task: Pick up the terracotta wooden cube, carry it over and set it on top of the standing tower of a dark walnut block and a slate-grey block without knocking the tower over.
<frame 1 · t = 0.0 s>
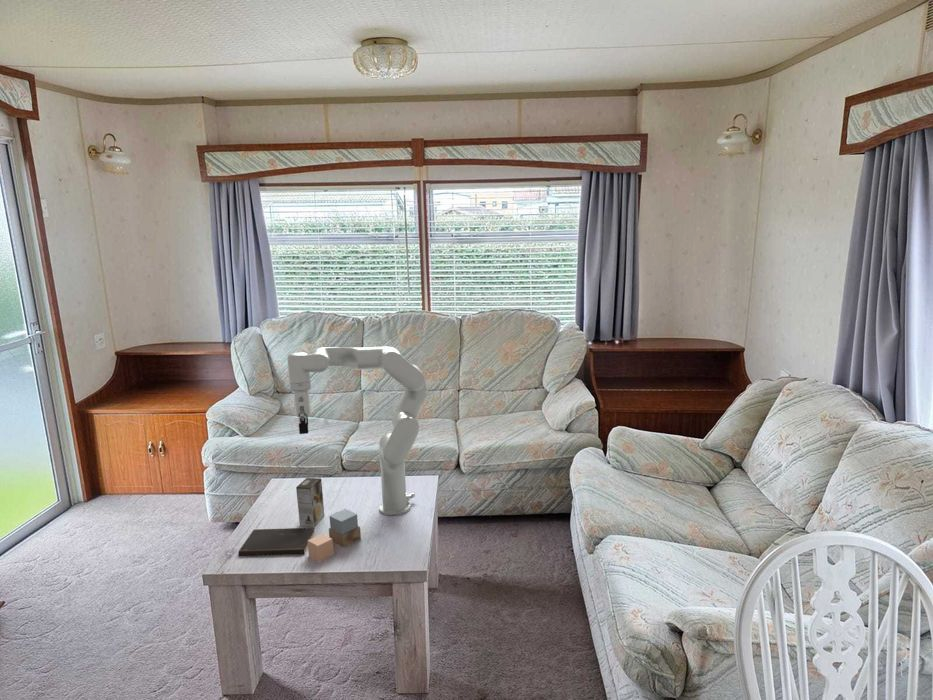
hand: (304, 429, 225), 37 cm above the table, tool pointing down, fingers open, 9 cm apart
hardcover book: (278, 545, 215), on the table
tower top: (344, 527, 216), point 5 cm above the table, touching tower bottom
terracotta cube: (321, 555, 207), on the table
coffee box: (312, 521, 232), on the table
tower bottom: (345, 540, 217), on the table, touching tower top
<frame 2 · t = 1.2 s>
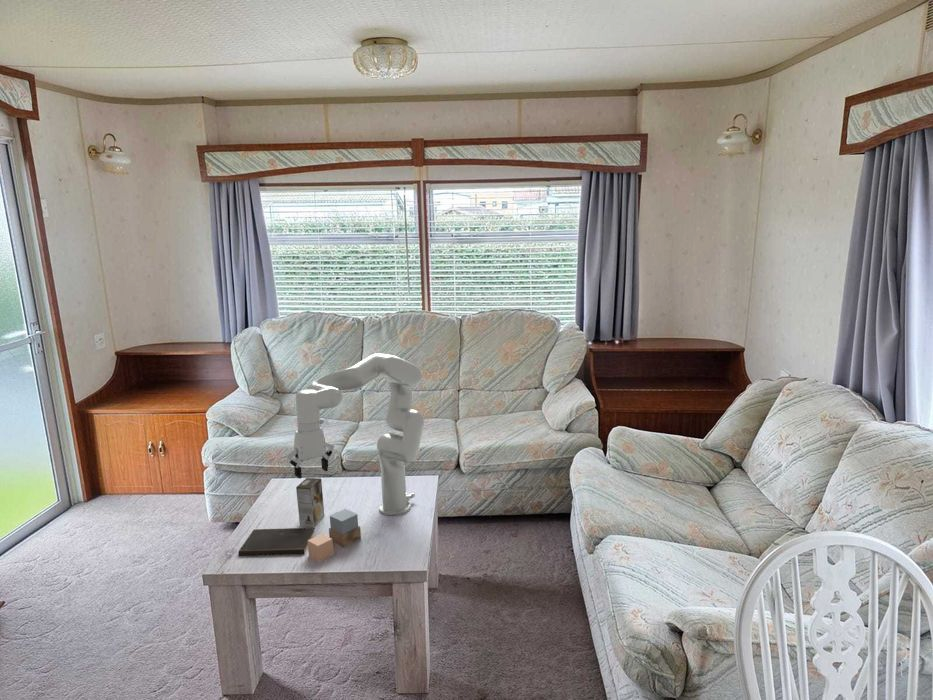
hand: (312, 473, 205), 29 cm above the table, tool pointing down, fingers open, 9 cm apart
nothing on the table moved.
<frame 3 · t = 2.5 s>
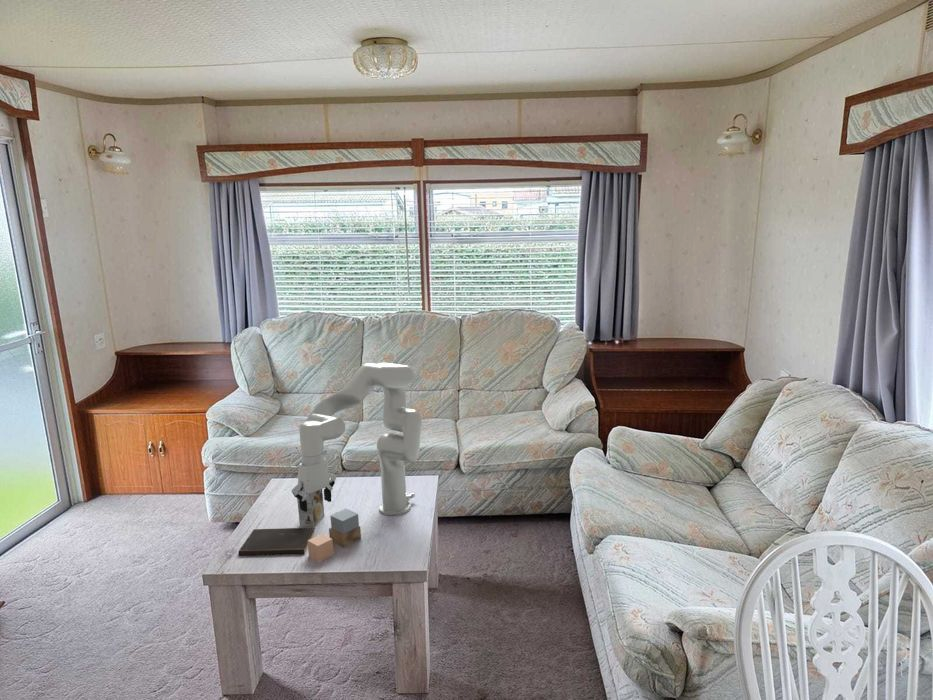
hand: (316, 505, 203), 19 cm above the table, tool pointing down, fingers open, 9 cm apart
nothing on the table moved.
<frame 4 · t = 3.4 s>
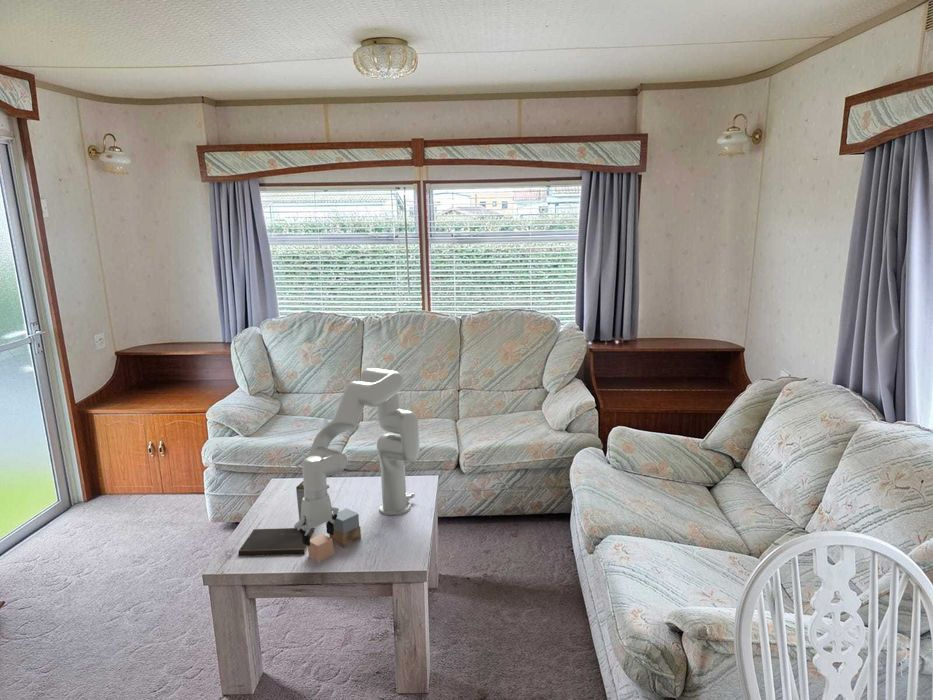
hand: (318, 539, 205), 6 cm above the table, tool pointing down, fingers open, 9 cm apart
nothing on the table moved.
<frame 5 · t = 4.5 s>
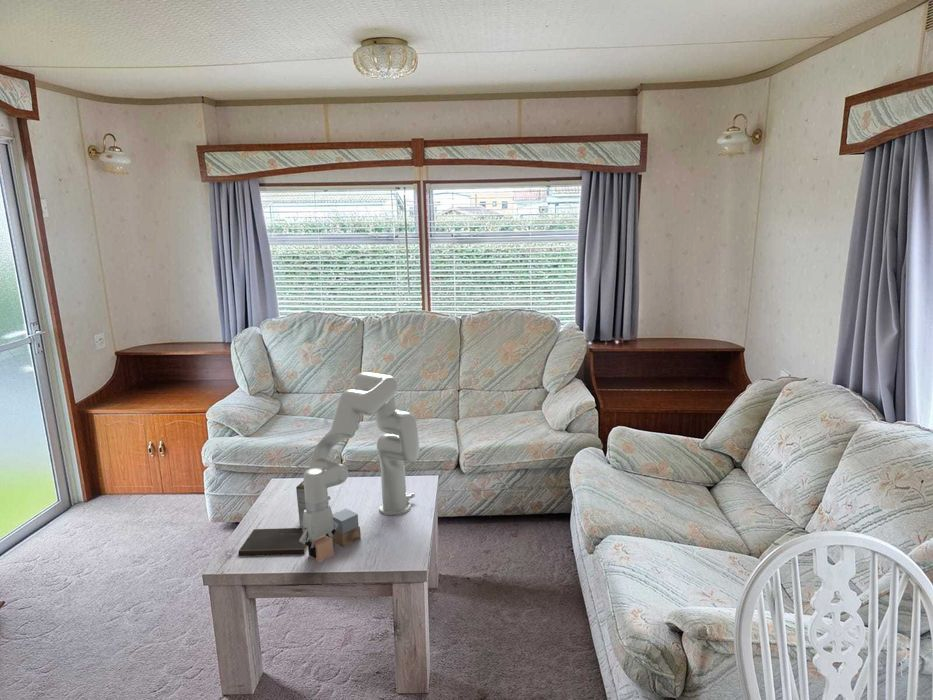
hand: (320, 552, 206), 1 cm above the table, tool pointing down, fingers closed on terracotta cube, 6 cm apart
terracotta cube: (321, 555, 207), on the table, touching gripper
everything else where it was.
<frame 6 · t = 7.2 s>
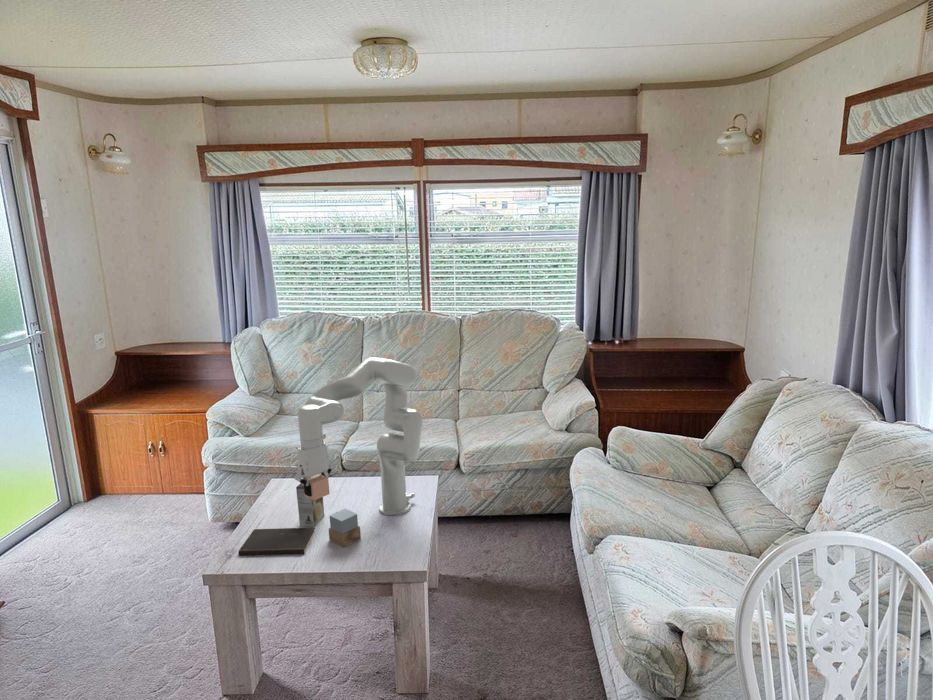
hand: (316, 491, 202), 24 cm above the table, tool pointing down, fingers closed on terracotta cube, 6 cm apart
terracotta cube: (317, 494, 203), point 22 cm above the table, touching gripper
everything else where it was.
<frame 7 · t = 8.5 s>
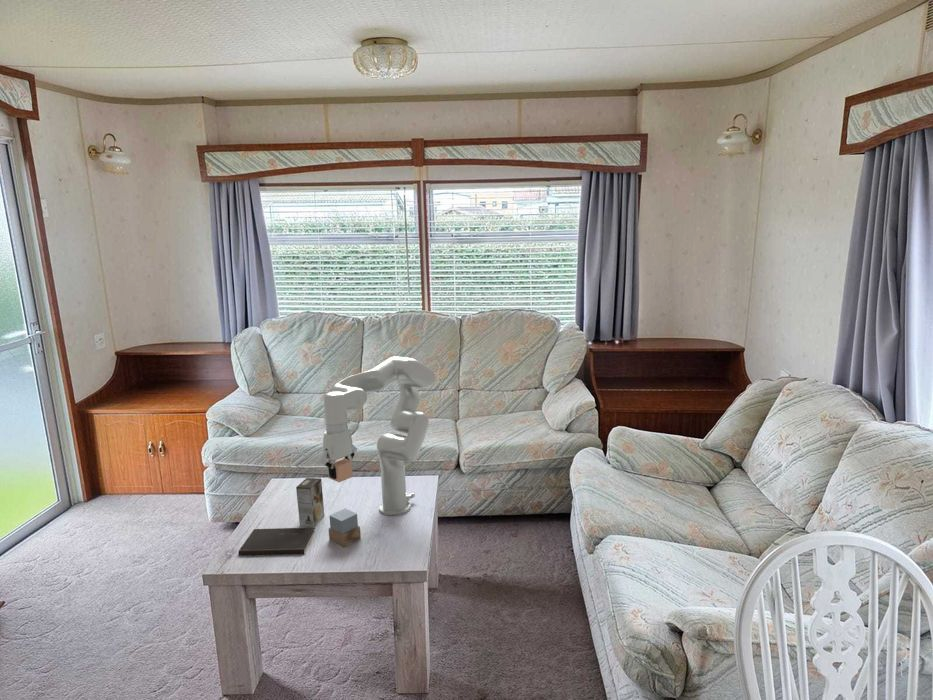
hand: (340, 474, 212), 25 cm above the table, tool pointing down, fingers closed on terracotta cube, 6 cm apart
terracotta cube: (340, 477, 212), point 24 cm above the table, touching gripper
everything else where it was.
when the fingers open (13 cm above the table, at t = 11.4 s): terracotta cube drops 2 cm, resting on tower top.
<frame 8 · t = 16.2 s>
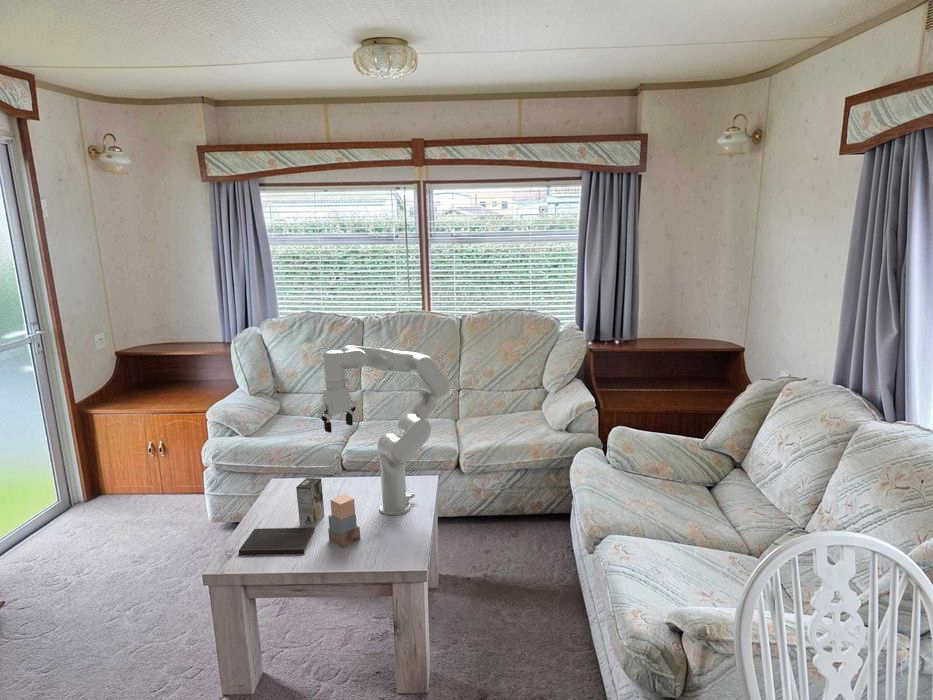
hand: (339, 428, 222), 38 cm above the table, tool pointing down, fingers open, 9 cm apart
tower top: (343, 528, 215), point 5 cm above the table, touching terracotta cube, tower bottom
terracotta cube: (343, 514, 215), point 10 cm above the table, touching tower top
everything else where it was.
at the end: terracotta cube 0.2 cm off-centre on the tower bottom, point 10.0 cm above the tower bottom's base; terracotta cube tilted 0°; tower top 0.4 cm off-centre on the tower bottom, point 5.0 cm above the tower bottom's base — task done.
